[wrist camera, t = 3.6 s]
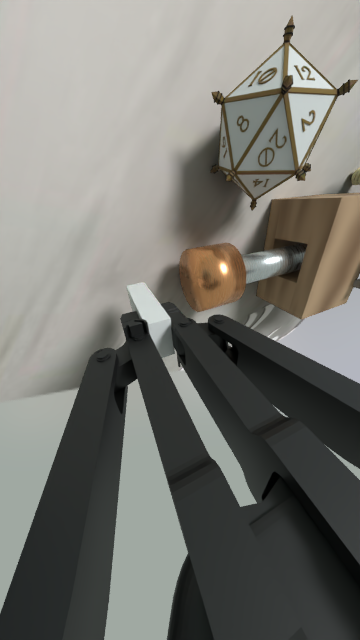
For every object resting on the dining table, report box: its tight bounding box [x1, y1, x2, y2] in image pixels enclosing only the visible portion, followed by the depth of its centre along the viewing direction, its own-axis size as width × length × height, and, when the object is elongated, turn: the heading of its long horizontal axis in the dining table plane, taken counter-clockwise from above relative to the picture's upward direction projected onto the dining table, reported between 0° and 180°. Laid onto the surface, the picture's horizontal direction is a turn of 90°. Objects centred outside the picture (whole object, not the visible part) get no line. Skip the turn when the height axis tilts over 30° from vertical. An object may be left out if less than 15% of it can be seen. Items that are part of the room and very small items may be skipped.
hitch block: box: [256, 193, 360, 319], centre depth 22 cm, size 8×12×9 cm
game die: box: [211, 16, 358, 210], centre depth 14 cm, size 9×8×10 cm
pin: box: [179, 243, 307, 312], centre depth 21 cm, size 16×6×6 cm, turn 95°
